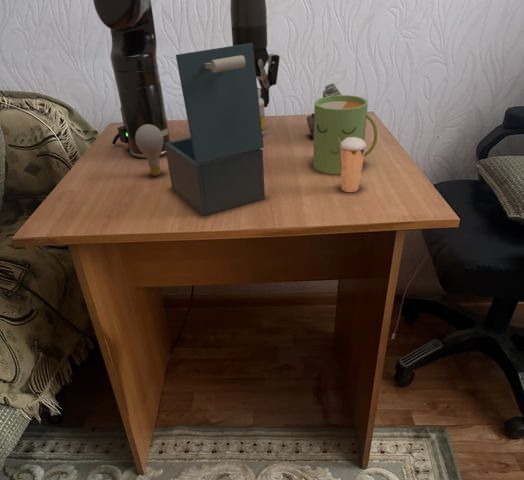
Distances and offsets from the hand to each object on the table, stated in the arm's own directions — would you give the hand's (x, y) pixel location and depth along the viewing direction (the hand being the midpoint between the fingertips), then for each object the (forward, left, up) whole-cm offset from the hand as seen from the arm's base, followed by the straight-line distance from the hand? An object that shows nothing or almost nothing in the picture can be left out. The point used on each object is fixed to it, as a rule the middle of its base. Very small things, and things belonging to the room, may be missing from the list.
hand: (252, 108), depth 114 cm
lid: (+24, -30, +11) cm, 40 cm away
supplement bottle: (0, 0, -6) cm, 6 cm away
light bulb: (+1, -30, -6) cm, 31 cm away
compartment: (+18, -28, -6) cm, 34 cm away
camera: (+13, +11, -6) cm, 19 cm away
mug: (+28, -2, -6) cm, 29 cm away
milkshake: (+36, -11, -6) cm, 39 cm away
